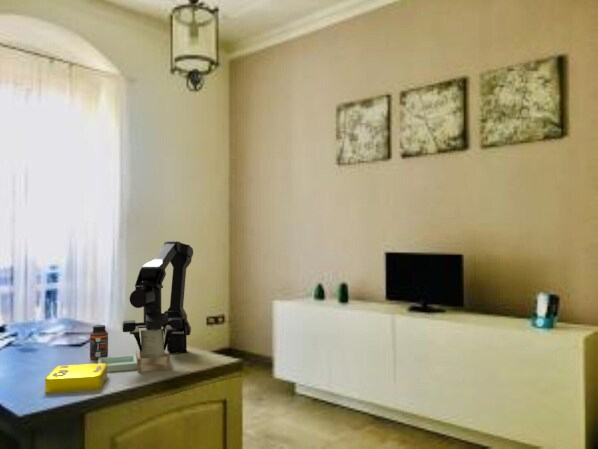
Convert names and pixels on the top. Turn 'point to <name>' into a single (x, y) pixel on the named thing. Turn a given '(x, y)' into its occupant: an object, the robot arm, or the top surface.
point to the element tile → (76, 378)
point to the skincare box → (152, 343)
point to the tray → (119, 362)
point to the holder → (153, 362)
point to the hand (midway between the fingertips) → (152, 350)
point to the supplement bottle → (98, 342)
